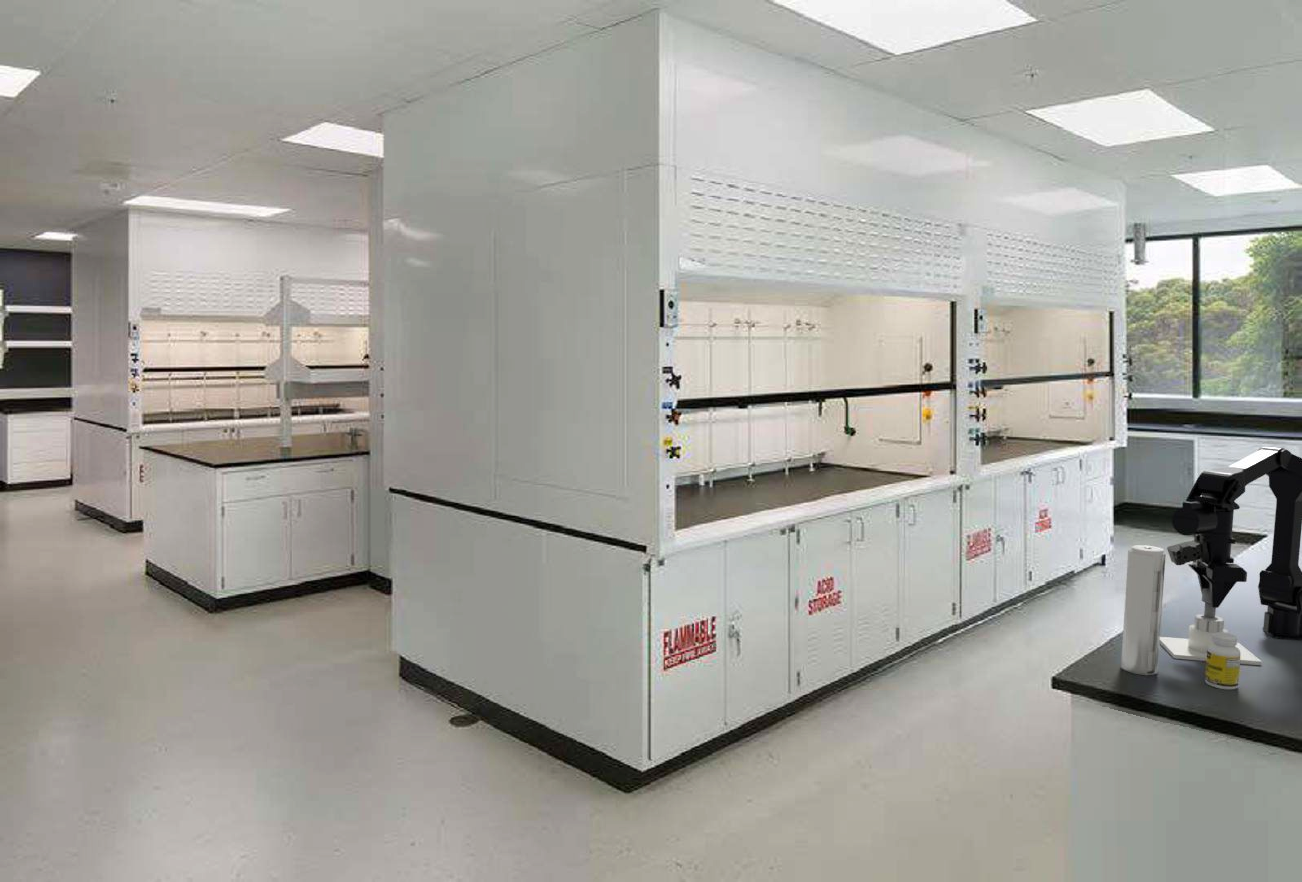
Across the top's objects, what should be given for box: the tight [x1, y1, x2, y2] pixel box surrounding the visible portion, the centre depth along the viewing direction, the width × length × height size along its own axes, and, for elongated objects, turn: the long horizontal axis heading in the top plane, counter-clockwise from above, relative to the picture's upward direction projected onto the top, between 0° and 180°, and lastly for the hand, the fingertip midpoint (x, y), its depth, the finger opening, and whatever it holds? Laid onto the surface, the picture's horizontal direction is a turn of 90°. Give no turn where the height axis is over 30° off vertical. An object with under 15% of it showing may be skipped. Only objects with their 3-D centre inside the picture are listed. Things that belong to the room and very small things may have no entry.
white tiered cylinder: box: [1187, 613, 1229, 653], centre depth 189 cm, size 7×7×7 cm
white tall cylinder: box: [1120, 544, 1166, 676], centre depth 178 cm, size 6×6×25 cm
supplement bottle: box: [1204, 632, 1241, 691], centre depth 170 cm, size 5×5×10 cm
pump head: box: [1201, 588, 1217, 618], centre depth 188 cm, size 3×3×6 cm
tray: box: [1160, 636, 1263, 666], centre depth 189 cm, size 16×12×1 cm
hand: (1210, 603), depth 188 cm, fingers open, 5 cm apart
